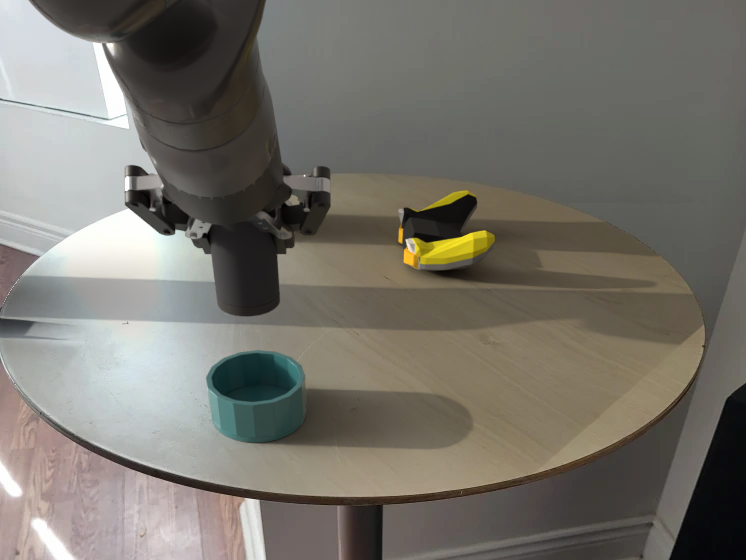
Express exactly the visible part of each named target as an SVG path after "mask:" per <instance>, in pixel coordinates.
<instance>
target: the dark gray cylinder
mask: <svg viewBox="0 0 746 560" xmlns="http://www.w3.org/2000/svg"><path fill="white" fill-rule="evenodd" d="M208 232H209V240H210V248H211V254H210V256H211V263H212V271H213V278H214V279H213V280H214V288H215V295H216V296H215V297H216V304H217V307H219V309H220V310H221V311H223V312H224V313H226V314H228V315H232V316H234V317H235V316H236V317H245V318H246V317H247V318H248V317H257V316H262V315H265V314H268V313H271V312H272V311H274V310H275V309H277V308H278V306H279V305H280V303H281V292H280V291H281V290H280V276H279V261H278V254H277V248H276V246H275V241H274V235H273V234H272V233H271V232H269V233H263V232H261V231H260V230H259V229H258V228H256V227H255V226H254V225H253V224H252V223H250V222H245V221H242V222H238V223H234V224H228V225H217V224H212V226H211V227H210V229H209V231H208Z"/></svg>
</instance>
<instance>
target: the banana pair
mask: <svg viewBox="0 0 746 560" xmlns="http://www.w3.org/2000/svg"><path fill="white" fill-rule="evenodd" d="M477 208H478V198H477V195H475V194H474V193H472V192H470V191H468V190H467V189H464V190H459V191H453V192H451V193H450V194H448V195H446V196H444V197H442V198H441V199H439V200H438V201H436V202H433V203H432V204H430V205H429V206H427V207H425V208H422V209H421V210H420V209H419V210H417V209H415V208H412V207H403V208H398V210H397V213H398V217H399V220H400V225H399V228H398V243H399V244H401V246H402V250H403V263H404V264H406V265H409V266H410V267H411V268H412V269H415V270H417V271H427V272H440V271H450V270H461V269H469V268H471V267H473V266H474V265H476V264H478V263H479V262H481V261H482V260H483V259H485V258H486V257H487V255H489V254H490V253H491V252H492V251H493V250H494V249H495V247H496V237H495V234H493V233H491V232H489V231H487V230H478V231H474V232H470V233H468V234H466V235H463V234H462V232H463V230H464V228H465V227H466V225H467V224H468V222H469V221H470V219H471V217H472V216H473V214H474V213H475V211H476V210H477Z"/></svg>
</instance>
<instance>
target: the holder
mask: <svg viewBox="0 0 746 560" xmlns="http://www.w3.org/2000/svg"><path fill="white" fill-rule="evenodd" d="M205 382H206V389H207V396H208V402H209V403H208V404H209V410H210V414H211V421H212V424H213V426H214V427H215V428H216V430H217V431H218V432H220V434H222V435H224V437H227V438H229V439H231V440H235V441H239V442H243V443H253V444H254V443H255V444H257V443H267V442H272V441H276V440H280V439H283V438H285V437H288V436H289V435H291V434H293V433H294V432H295V431H297V430H298V429H300V427H301V426H302V424H303V423H304V422H305V419H306V414H307V385H306V374H305V370H304V369H303V366H302V364H301V363H299V362H298V361H297V360H295V359H294V358H293V357H292V356H289V355H286V354H284V353H281V352H278V351H274V350H263V349H262V350H261V349H255V350H247V351H239V352H236V353H234V354H230V355H227V356H225V357H223V358H221V359H219V361H217V362H216V363H214V364H213V365H211V367H210V368H209V370H208V372H207V374H206V376H205Z"/></svg>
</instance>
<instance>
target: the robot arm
mask: <svg viewBox="0 0 746 560" xmlns="http://www.w3.org/2000/svg"><path fill="white" fill-rule="evenodd" d="M28 2H29V4H31V5H32V6H33V8H34V9H35V10H36V11H37V12H38V13H39V14H40V15H41V16H43V17H44V18H45V20H46V21H48V22H49V23H50V24H52V25H53V26H55V27H56V28H58V29H59V30H61V31H63V32H64V33H66V34H68V35H70V36H71V37H74V38H77V39H80V40H83V41H87V42H89V43H95V44H101V46H102V50H103V53H104V56H105V58H106V61H107V64H108V66H109V68H110V70H111V72H112V74H113V76H114V78H115V80H116V83H117V84H118V86H119V89H120V91H121V93H122V94H123V97H124V99H125V101H126V103H127V105H128V107H129V109H130V112H131V115H132V120H133V123H134V126H135V130H136V133H137V136H138V139H139V142H140V145H141V147H142V149H143V150H144V152H145V153H146V154H147V155H148V157H149V160H150V162H151V163H152V165H153V167H154V170H155V171H156V173H152V172H151V173H150V172H147V171H146V170H145V169H144V168H143V167H142V166H139V165H136V164H127V165H125V166H124V178H123V179H124V181H123V182H124V184H123V185H124V192H123V193H124V206H125V207H126V208H128V209H129V210H130V211H131V212H132V213H134V214H135V215H136V216H137V217H139V218H140V219H141V220H142V221H143V222H145V223H146V224H147V225H148V226H149V227H151V228H152V229H153V230H154V231H156V232H157V233H158V234H159V235H162V236H164V237H165V236H166V237H169V236H174V235H176V231H181V232H184V236H185V237H186V238H188V239H190V240H191V242H192V244H193V246H194V247H195V248H197V249H202V251H203V253H204V255H211V248H210V240H209V232H208V231H209V229H210V227H211V226H212V224H217V225H228V224H234V223H238V222H242V221H245V222H250V223H252V224H253V225H254V226H255V227H256V228H258V229H259V230H260V231H261V232H263V233H269V232H271V233H272V234H273V235H274V241H275V246H276V248H277V255H287V249H293V248H294V247H295V246H296V245H295V243H296V242H295V239H296V237H295V233H296V232H299V234H300V235H302V236H306V237H310V236H315V235H316V234H317V233H318V231H319V229H320V227H321V226H322V224H323V222H324V220H325V218H326V216H327V214H328V212H329V211H330V208H331V205H332V198H331V196H332V195H331V193H332V192H331V169H330V168H329V167H328V166H324V165H319V166H318V165H317V166H315V167H313V168H312V169H311V172H310V174H305V173H304V174H303V175H296V174H293V173H292V171H291V169H290V168H289V166H287V165H286V164H285V163H284V162H283V161H282V160H283V159H282V155H281V154H282V153H281V148H280V142H279V135H278V129H277V121H276V116H275V109H274V103H273V98H272V94H271V89H270V87H269V84H268V81H267V79H266V76H265V73H264V71H263V65H262V64H263V63H262V59H261V53H260V46H259V41H258V34H259V30H260V28H261V25H262V21H263V19H264V18H263V17H264V12H265V7H266V2H267V0H28ZM292 196H294V197H296V198H297V201H298V204H293V203H292V202H291V201H290V199H291V198H292Z"/></svg>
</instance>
